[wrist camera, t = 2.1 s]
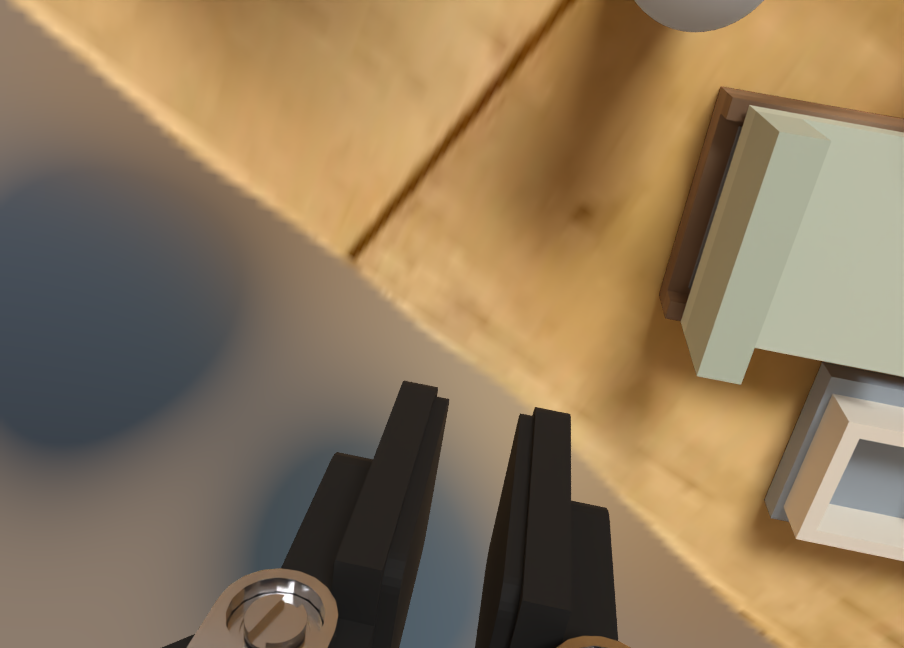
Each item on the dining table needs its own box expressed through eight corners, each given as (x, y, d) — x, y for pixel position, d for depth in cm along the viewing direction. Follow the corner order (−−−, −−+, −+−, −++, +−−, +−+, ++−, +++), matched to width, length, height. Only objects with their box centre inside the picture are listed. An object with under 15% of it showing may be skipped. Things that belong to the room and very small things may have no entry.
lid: (1005, 150, 24) (1080, 185, 21) (903, 365, 28) (953, 426, 24) (749, 105, 25) (779, 131, 21) (680, 321, 28) (696, 376, 25)
